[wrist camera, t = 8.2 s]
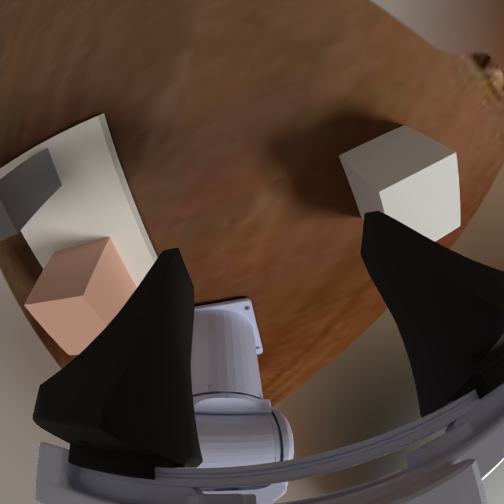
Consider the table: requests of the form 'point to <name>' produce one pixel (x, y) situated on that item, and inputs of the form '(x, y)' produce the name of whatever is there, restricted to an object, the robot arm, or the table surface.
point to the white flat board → (74, 198)
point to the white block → (406, 181)
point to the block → (80, 293)
